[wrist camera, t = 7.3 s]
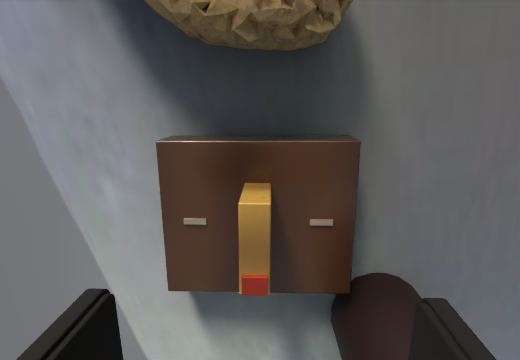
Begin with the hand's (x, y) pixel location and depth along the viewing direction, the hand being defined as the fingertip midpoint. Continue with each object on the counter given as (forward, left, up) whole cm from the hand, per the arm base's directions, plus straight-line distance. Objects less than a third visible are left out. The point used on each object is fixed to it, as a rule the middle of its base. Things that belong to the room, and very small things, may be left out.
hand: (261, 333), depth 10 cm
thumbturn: (0, 0, -10) cm, 10 cm away
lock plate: (0, 0, -13) cm, 13 cm away
